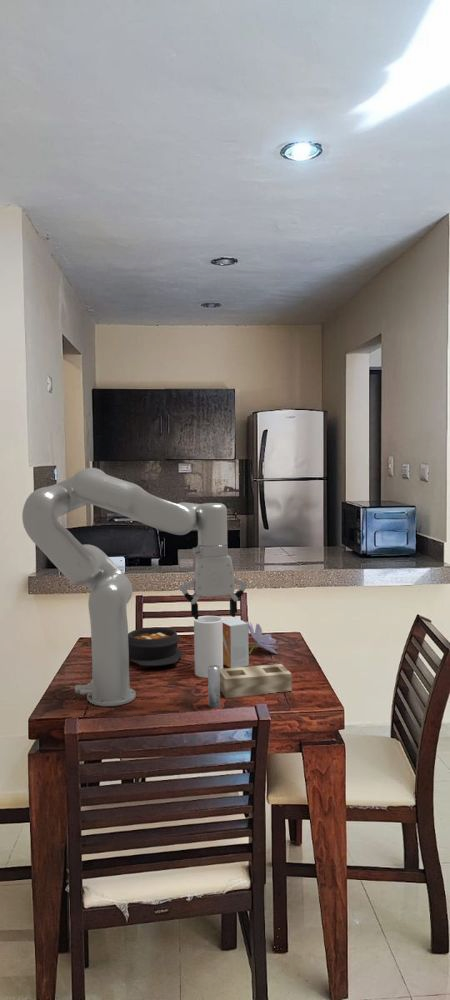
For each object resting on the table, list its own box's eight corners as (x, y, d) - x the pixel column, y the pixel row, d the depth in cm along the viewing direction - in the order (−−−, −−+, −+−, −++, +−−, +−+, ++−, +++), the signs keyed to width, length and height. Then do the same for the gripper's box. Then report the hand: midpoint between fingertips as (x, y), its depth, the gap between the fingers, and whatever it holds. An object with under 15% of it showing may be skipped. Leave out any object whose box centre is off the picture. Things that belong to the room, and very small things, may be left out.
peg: (209, 708, 184) (209, 669, 184) (207, 704, 187) (206, 665, 187) (221, 706, 185) (220, 668, 184) (218, 702, 188) (218, 664, 187)
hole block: (225, 698, 191) (225, 679, 191) (218, 687, 200) (218, 669, 200) (291, 691, 195) (291, 673, 195) (281, 681, 204) (281, 663, 204)
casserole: (191, 668, 217) (191, 640, 217) (129, 675, 212) (128, 646, 211) (173, 646, 241) (173, 621, 241) (116, 651, 236) (116, 626, 235)
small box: (218, 662, 223) (217, 619, 222) (236, 659, 226) (235, 617, 225) (230, 669, 216) (230, 625, 215) (249, 665, 219) (248, 622, 218)
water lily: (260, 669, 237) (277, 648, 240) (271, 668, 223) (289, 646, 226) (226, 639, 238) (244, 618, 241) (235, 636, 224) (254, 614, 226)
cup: (189, 674, 211) (188, 620, 210) (205, 667, 218) (204, 614, 217) (212, 679, 207) (211, 623, 205) (228, 671, 213) (227, 617, 212)
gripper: (181, 555, 183) (183, 622, 184) (249, 551, 186) (250, 618, 188) (177, 550, 190) (179, 615, 192) (242, 547, 194) (243, 611, 195)
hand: (214, 617), depth 190 cm, fingers open, 9 cm apart
